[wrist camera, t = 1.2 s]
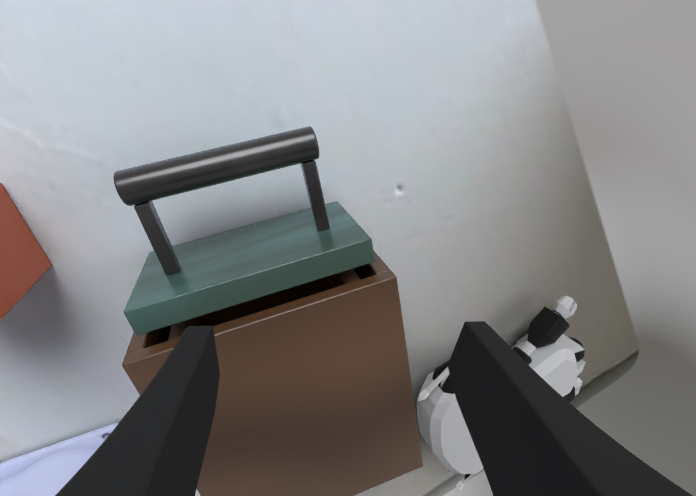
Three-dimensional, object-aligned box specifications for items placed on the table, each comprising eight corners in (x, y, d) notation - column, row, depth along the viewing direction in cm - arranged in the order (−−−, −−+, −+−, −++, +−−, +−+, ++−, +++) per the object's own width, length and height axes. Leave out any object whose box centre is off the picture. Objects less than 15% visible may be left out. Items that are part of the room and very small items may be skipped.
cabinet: (153, 276, 21) (120, 365, 14) (348, 220, 23) (396, 276, 16) (230, 434, 27) (232, 548, 20) (379, 379, 29) (423, 466, 22)
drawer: (106, 162, 17) (58, 196, 12) (319, 114, 19) (352, 126, 14) (226, 415, 25) (227, 499, 20) (370, 363, 27) (403, 428, 22)
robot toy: (545, 270, 31) (386, 366, 28) (596, 297, 27) (417, 410, 24) (557, 370, 36) (426, 456, 34) (600, 404, 32) (456, 504, 30)
